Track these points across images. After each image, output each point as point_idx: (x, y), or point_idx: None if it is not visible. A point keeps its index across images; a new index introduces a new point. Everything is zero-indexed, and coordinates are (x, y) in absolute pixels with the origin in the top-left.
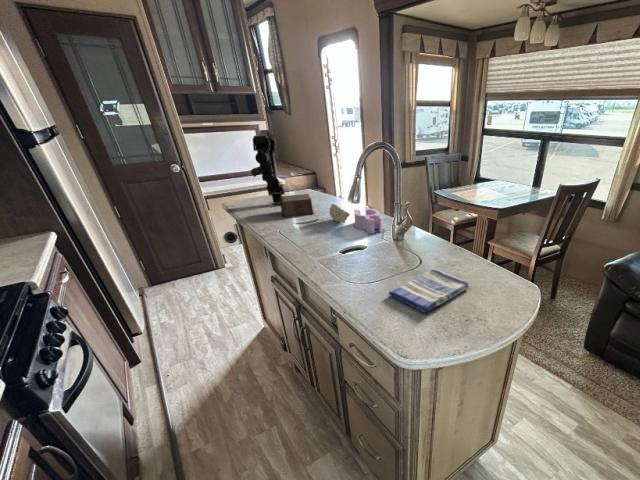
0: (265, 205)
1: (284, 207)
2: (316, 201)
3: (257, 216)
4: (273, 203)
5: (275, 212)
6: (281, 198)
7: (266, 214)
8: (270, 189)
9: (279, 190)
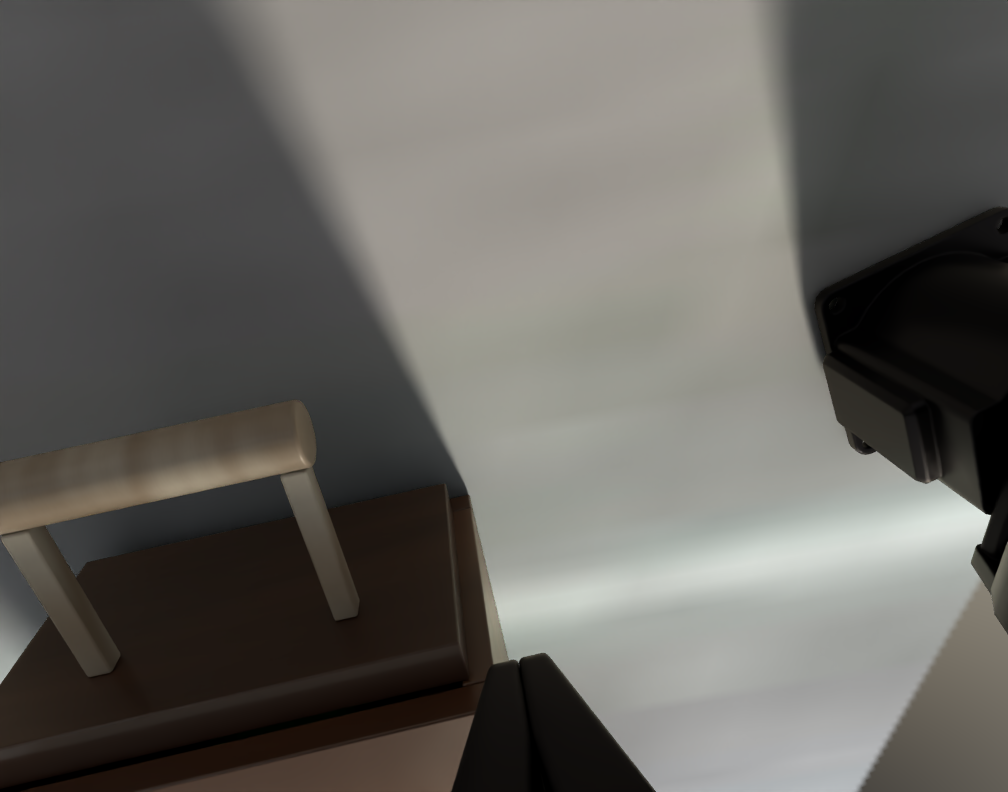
0: (963, 77)
1: None
2: (845, 787)
3: (121, 44)
4: (291, 495)
5: (399, 375)
6: (257, 767)
7: (275, 227)
8: (479, 720)
9: (999, 621)
